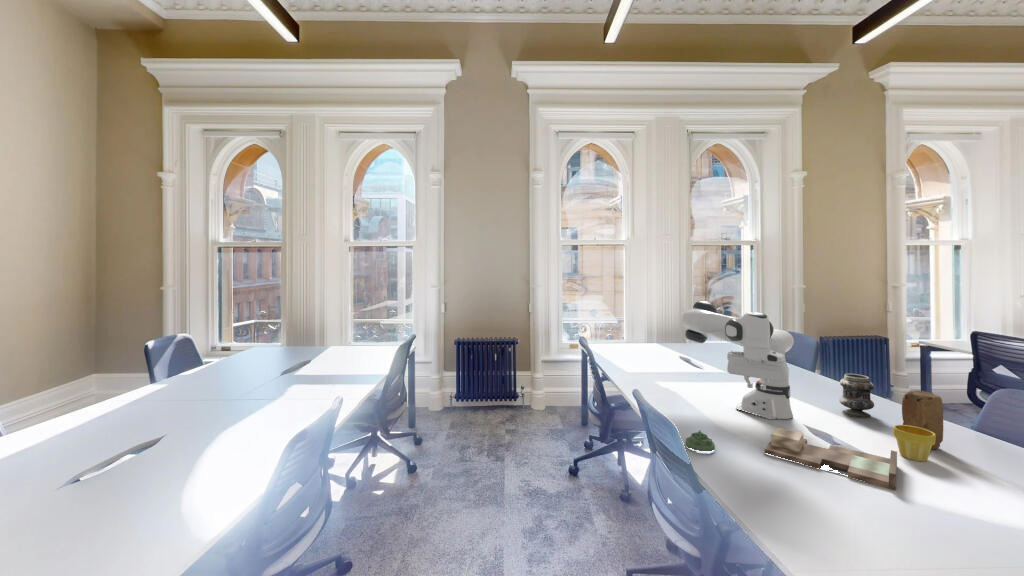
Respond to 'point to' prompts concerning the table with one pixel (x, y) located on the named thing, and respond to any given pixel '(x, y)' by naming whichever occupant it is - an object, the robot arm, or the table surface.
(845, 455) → the box
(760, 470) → the table surface
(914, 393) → the block
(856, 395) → the apothecary jar
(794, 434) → the maple block
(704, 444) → the decorative artifact
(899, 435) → the plant pot
